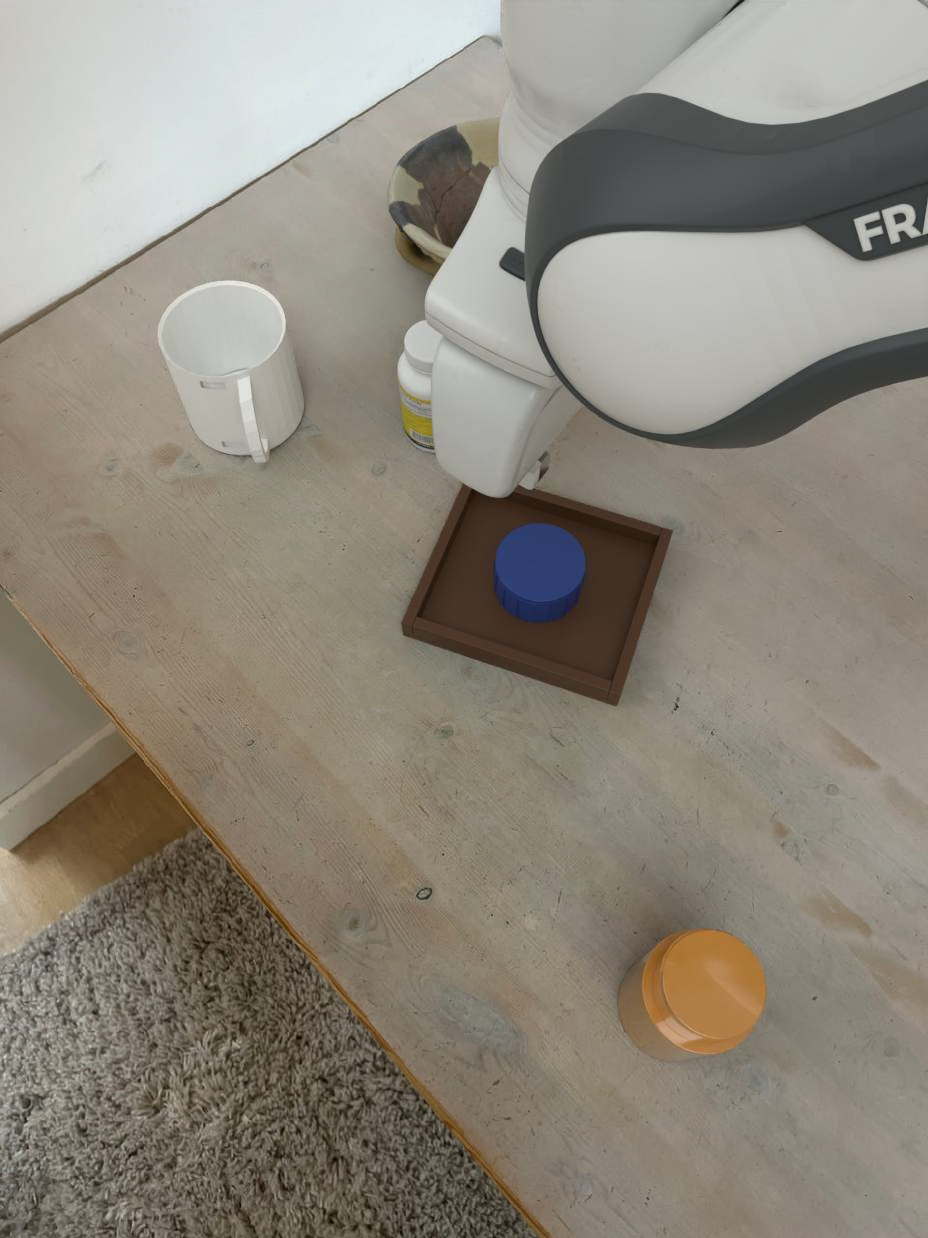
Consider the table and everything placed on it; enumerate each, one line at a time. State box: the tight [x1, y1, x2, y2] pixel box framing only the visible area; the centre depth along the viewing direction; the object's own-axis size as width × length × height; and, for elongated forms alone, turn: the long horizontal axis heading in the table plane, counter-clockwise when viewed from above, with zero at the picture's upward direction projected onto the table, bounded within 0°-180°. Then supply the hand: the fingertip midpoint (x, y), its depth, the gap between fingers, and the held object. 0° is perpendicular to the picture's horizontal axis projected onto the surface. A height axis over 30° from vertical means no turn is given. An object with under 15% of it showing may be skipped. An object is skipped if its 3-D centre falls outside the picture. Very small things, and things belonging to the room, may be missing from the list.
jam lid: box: [493, 523, 586, 623], centre depth 68 cm, size 6×6×3 cm
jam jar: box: [617, 927, 767, 1063], centre depth 52 cm, size 6×6×12 cm
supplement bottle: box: [396, 319, 443, 454], centre depth 73 cm, size 5×5×10 cm
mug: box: [157, 279, 305, 465], centre depth 73 cm, size 12×9×9 cm
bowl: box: [386, 116, 501, 277], centre depth 80 cm, size 18×18×10 cm
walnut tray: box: [401, 483, 674, 707], centre depth 69 cm, size 16×14×2 cm
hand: (574, 416), depth 53 cm, fingers open, 8 cm apart
